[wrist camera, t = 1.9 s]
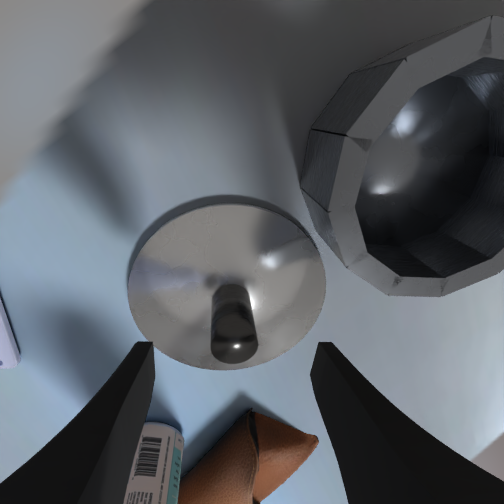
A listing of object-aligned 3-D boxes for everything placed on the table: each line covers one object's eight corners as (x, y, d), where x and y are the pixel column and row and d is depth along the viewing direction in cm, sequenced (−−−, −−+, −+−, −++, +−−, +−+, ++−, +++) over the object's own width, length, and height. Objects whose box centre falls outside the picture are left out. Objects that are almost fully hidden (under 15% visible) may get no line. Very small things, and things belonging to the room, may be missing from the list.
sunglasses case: (209, 533, 29) (172, 620, 23) (162, 480, 30) (114, 549, 24) (326, 436, 24) (319, 515, 18) (263, 376, 25) (235, 430, 19)
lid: (138, 361, 19) (117, 428, 15) (123, 192, 14) (86, 225, 10) (303, 360, 20) (323, 419, 16) (341, 208, 15) (383, 242, 11)
